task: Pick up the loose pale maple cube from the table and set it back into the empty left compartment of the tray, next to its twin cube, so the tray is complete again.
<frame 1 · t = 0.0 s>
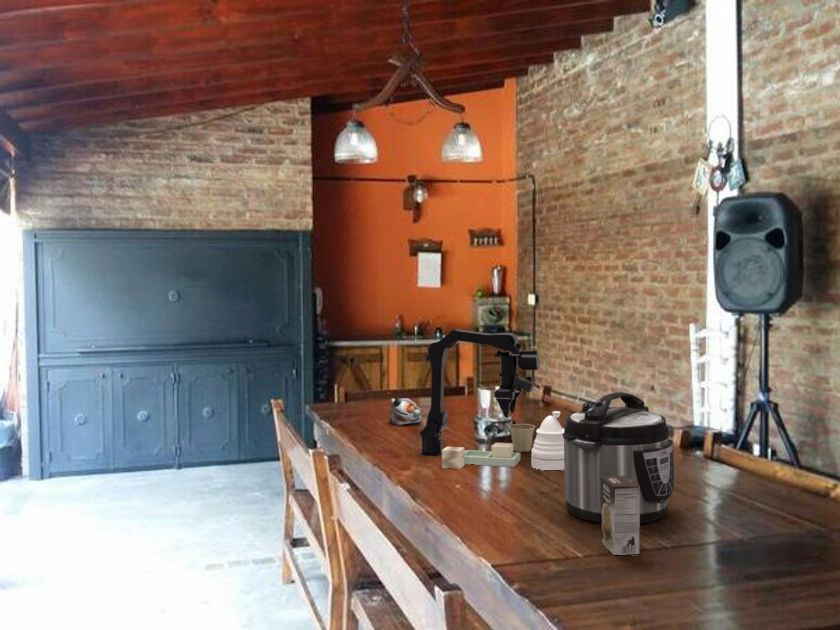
hand: (509, 415, 285), 15 cm above the table, tool pointing down, fingers open, 9 cm apart
tray: (489, 461, 280), on the table
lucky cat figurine: (406, 424, 353), on the table
coffee box: (620, 550, 191), on the table
honey pot: (551, 466, 273), on the table
flower pot: (522, 450, 297), on the table
maple cube: (453, 466, 275), on the table
pressure cooker: (618, 513, 220), on the table
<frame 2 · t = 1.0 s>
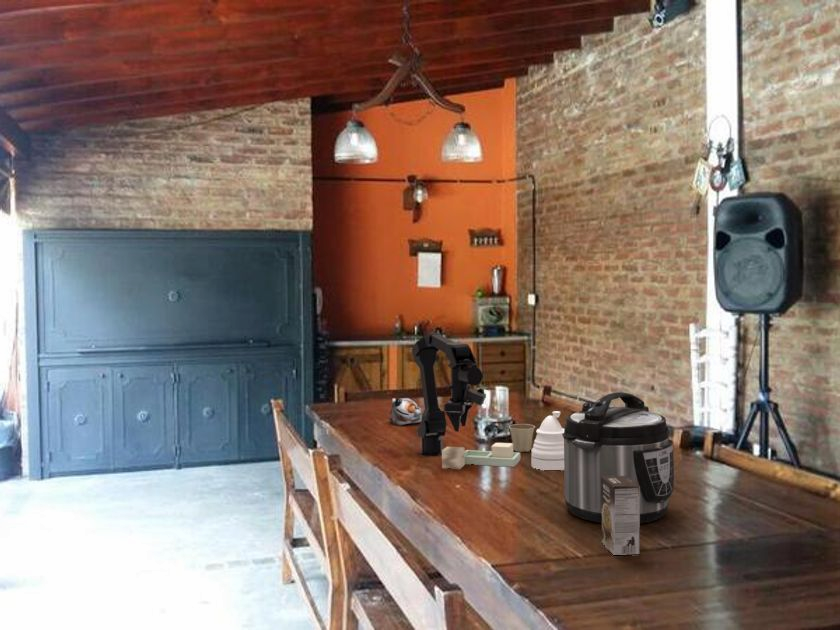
hand: (460, 428, 276), 12 cm above the table, tool pointing down, fingers open, 9 cm apart
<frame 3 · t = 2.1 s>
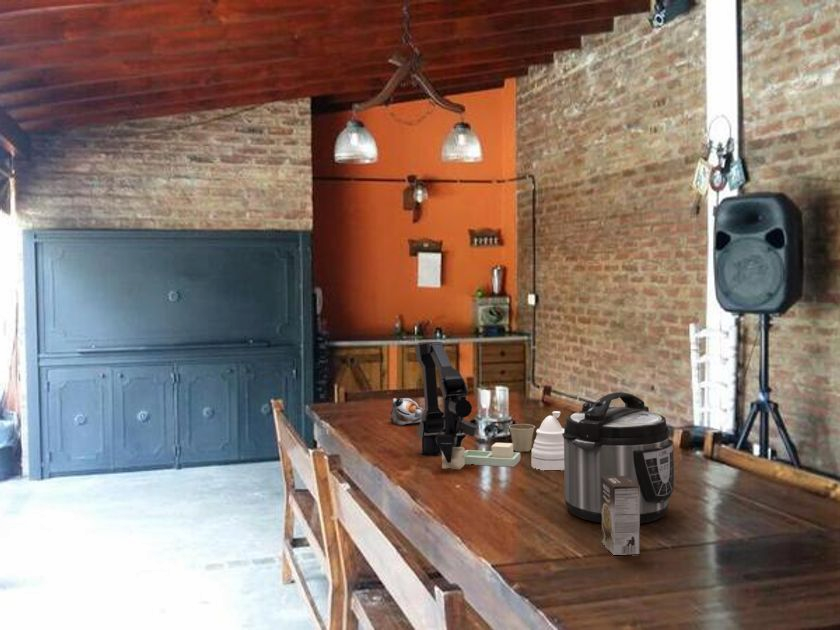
hand: (453, 459, 275), 2 cm above the table, tool pointing down, fingers open, 9 cm apart
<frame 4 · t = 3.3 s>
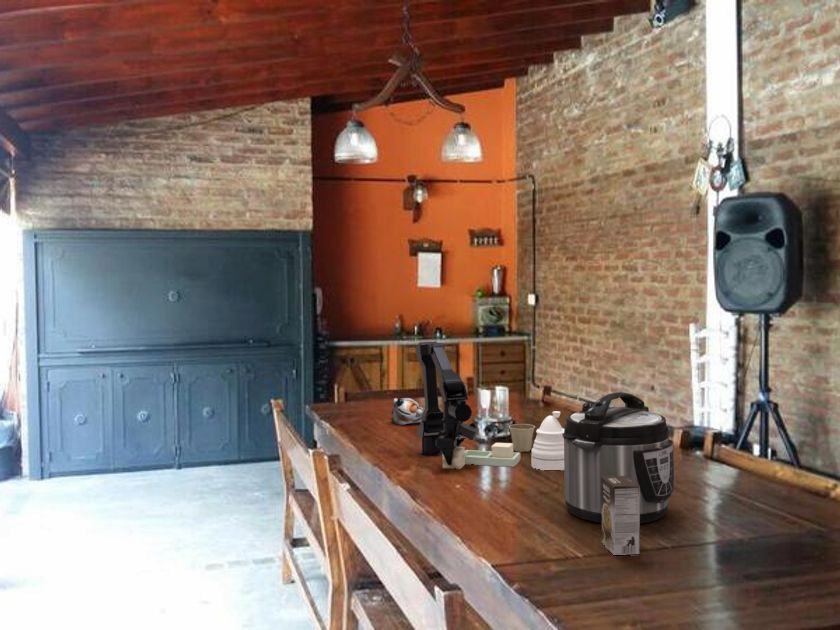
hand: (452, 462, 276), 1 cm above the table, tool pointing down, fingers closed on maple cube, 6 cm apart
maple cube: (453, 466, 275), on the table, touching gripper
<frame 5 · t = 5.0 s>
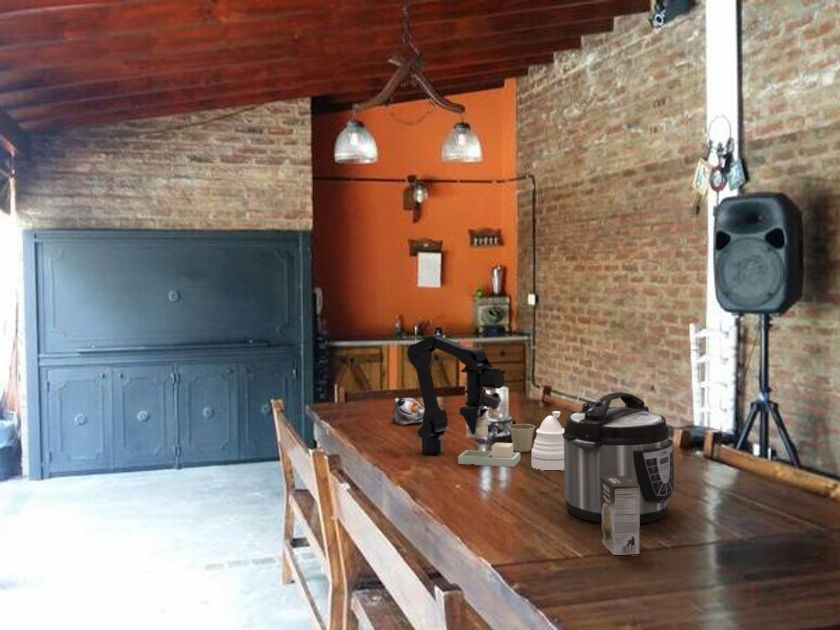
hand: (475, 432, 281), 10 cm above the table, tool pointing down, fingers closed on maple cube, 6 cm apart
maple cube: (477, 436, 281), point 9 cm above the table, touching gripper
when the fingers open (4 cm above the table, at t = 6.4 s): maple cube drops 2 cm, resting on tray.
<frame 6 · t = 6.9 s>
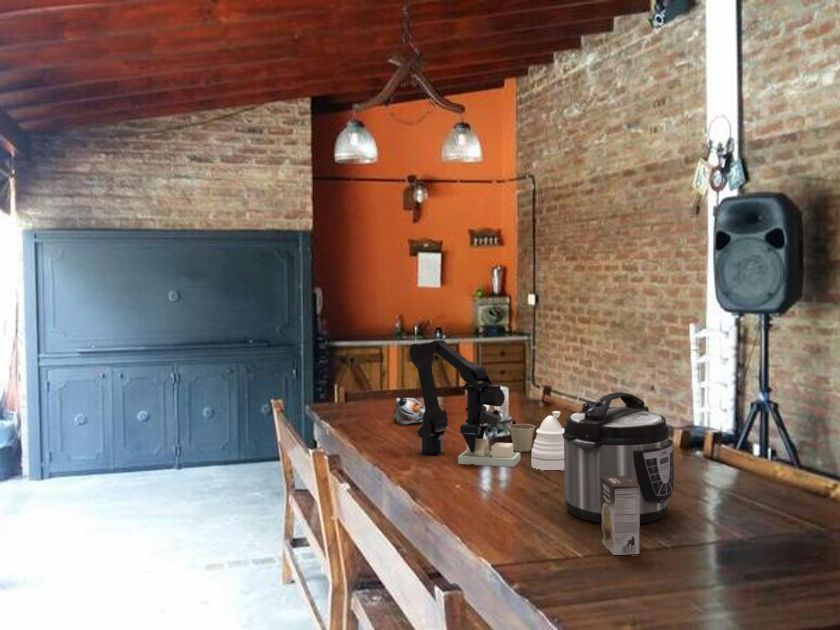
hand: (476, 449, 282), 4 cm above the table, tool pointing down, fingers open, 9 cm apart
maple cube: (477, 458, 282), point 1 cm above the table, touching tray
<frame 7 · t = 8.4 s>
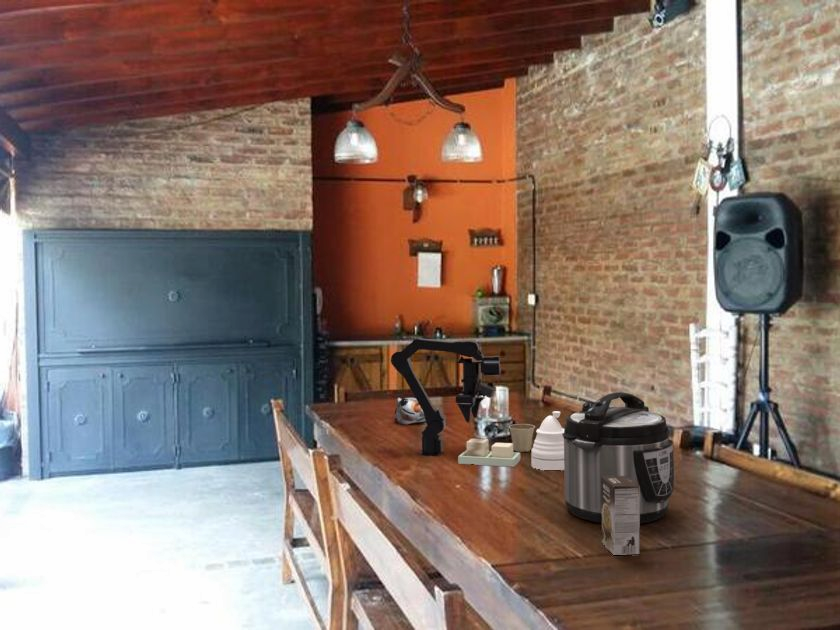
hand: (471, 419, 293), 12 cm above the table, tool pointing down, fingers open, 9 cm apart
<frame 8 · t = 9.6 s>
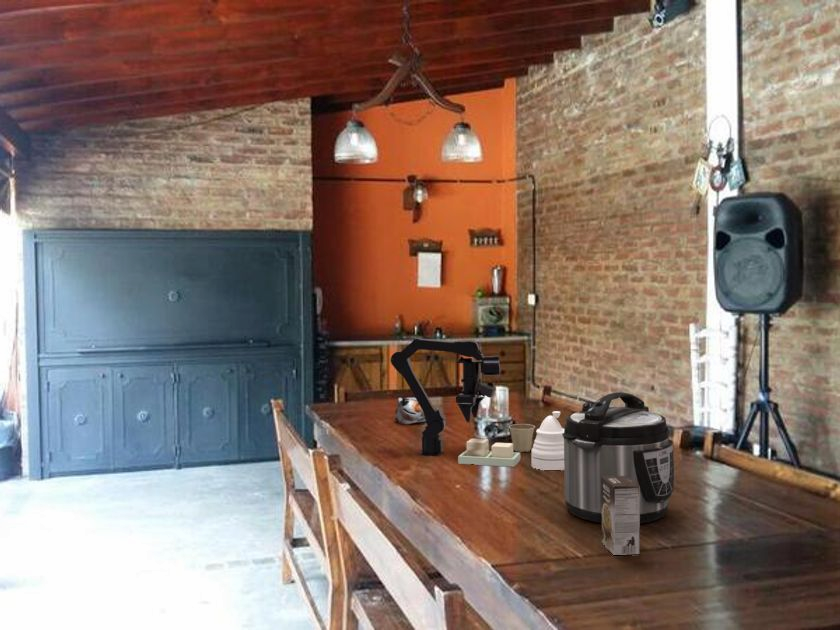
hand: (471, 419, 293), 12 cm above the table, tool pointing down, fingers open, 9 cm apart
at the end: maple cube 0.4 cm from the target spot on the tray, point 1.0 cm above the tray's base; maple cube tilted 0°; the gripper is holding nothing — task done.
